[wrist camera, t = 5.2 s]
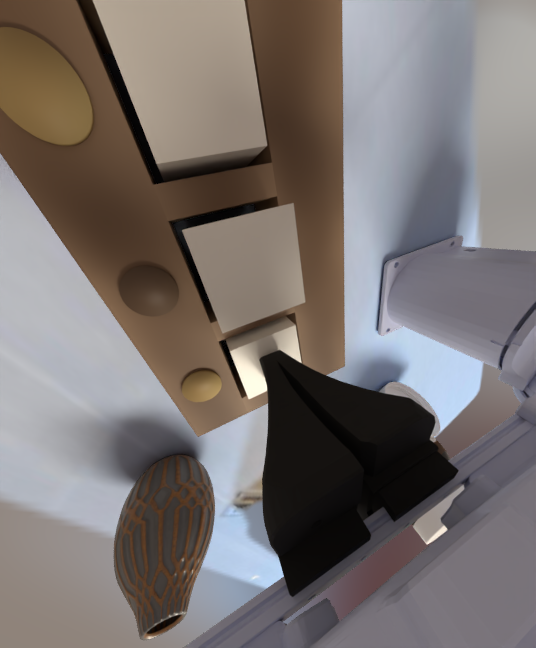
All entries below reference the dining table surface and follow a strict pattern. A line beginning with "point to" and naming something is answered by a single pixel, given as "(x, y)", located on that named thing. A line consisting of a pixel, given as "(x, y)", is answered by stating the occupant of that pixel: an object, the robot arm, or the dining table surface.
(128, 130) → the button board
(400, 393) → the spread jar
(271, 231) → the button middle
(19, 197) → the dining table surface
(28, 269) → the dining table surface
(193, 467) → the vase
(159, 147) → the button
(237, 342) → the button
